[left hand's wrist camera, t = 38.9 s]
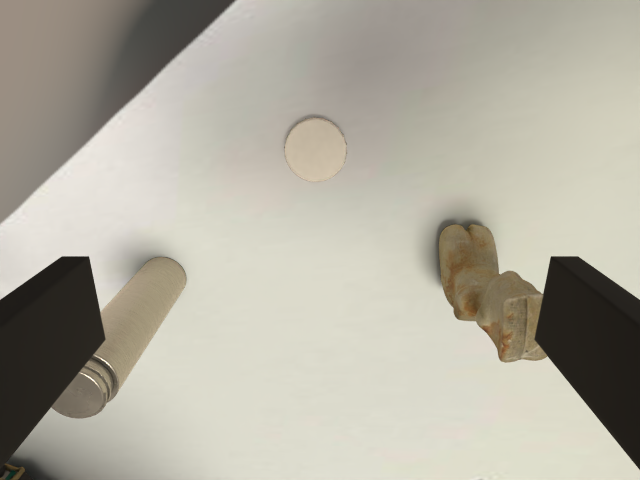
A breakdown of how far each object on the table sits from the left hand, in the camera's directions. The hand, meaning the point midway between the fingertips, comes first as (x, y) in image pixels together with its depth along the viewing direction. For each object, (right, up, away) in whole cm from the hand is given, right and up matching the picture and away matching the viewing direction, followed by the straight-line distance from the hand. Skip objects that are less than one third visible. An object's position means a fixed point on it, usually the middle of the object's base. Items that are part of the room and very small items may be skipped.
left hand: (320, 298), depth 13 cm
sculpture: (+13, 0, +30) cm, 32 cm away
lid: (0, +9, +25) cm, 26 cm away
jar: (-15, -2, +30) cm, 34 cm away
